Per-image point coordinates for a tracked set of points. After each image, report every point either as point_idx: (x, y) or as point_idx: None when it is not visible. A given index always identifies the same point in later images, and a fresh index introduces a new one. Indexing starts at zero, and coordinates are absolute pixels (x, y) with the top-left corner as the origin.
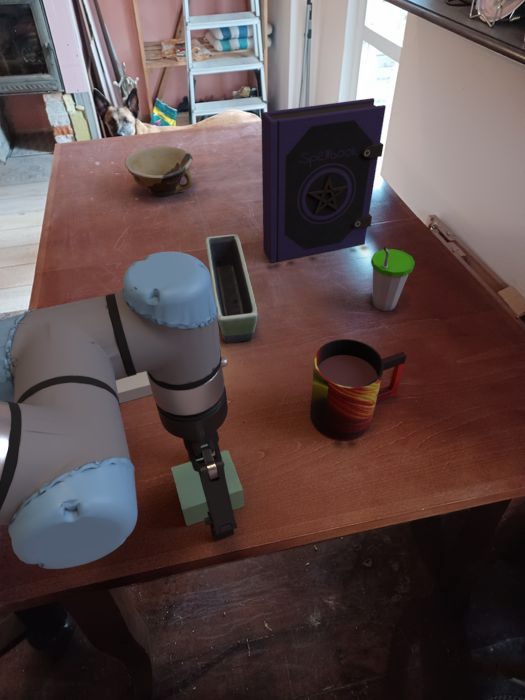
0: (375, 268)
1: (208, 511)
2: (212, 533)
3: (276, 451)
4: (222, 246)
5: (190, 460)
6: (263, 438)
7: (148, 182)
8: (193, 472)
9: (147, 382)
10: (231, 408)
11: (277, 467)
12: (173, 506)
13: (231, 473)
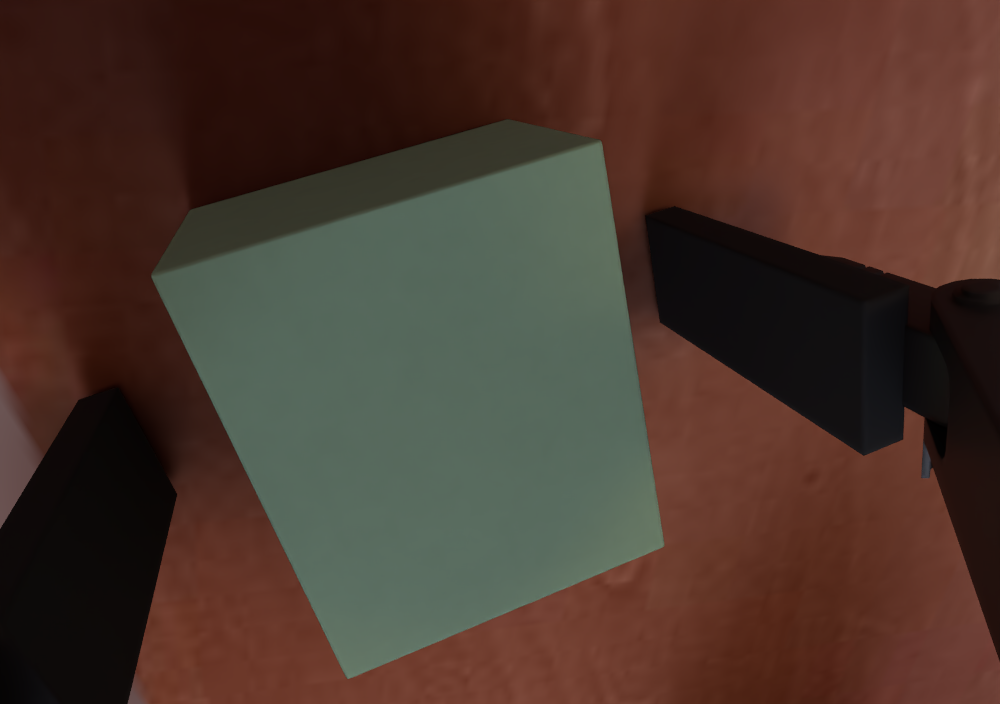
0: None
1: (2, 636)
2: (45, 456)
3: (622, 630)
4: None
5: (659, 224)
6: (702, 570)
7: None
8: (525, 338)
9: None
10: None
11: (538, 644)
12: (347, 107)
13: (480, 596)
